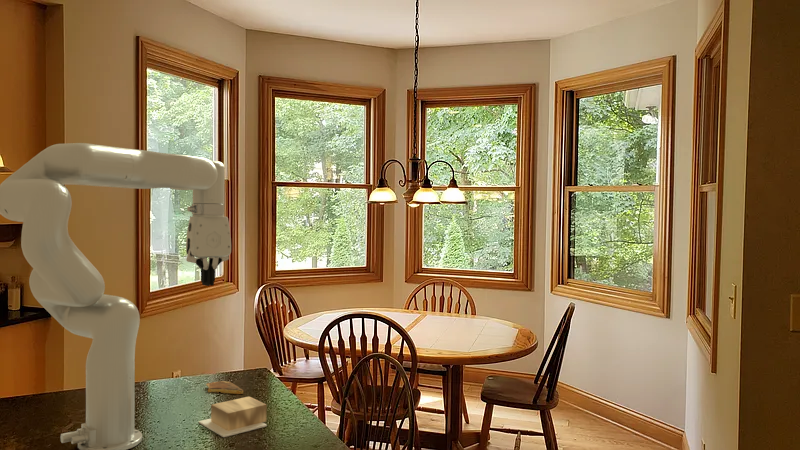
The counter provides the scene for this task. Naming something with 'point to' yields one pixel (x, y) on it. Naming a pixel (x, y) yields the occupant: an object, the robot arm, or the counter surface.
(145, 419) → the counter surface
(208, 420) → the plastic mat
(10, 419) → the counter surface
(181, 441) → the counter surface
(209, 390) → the shard
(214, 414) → the wood block
